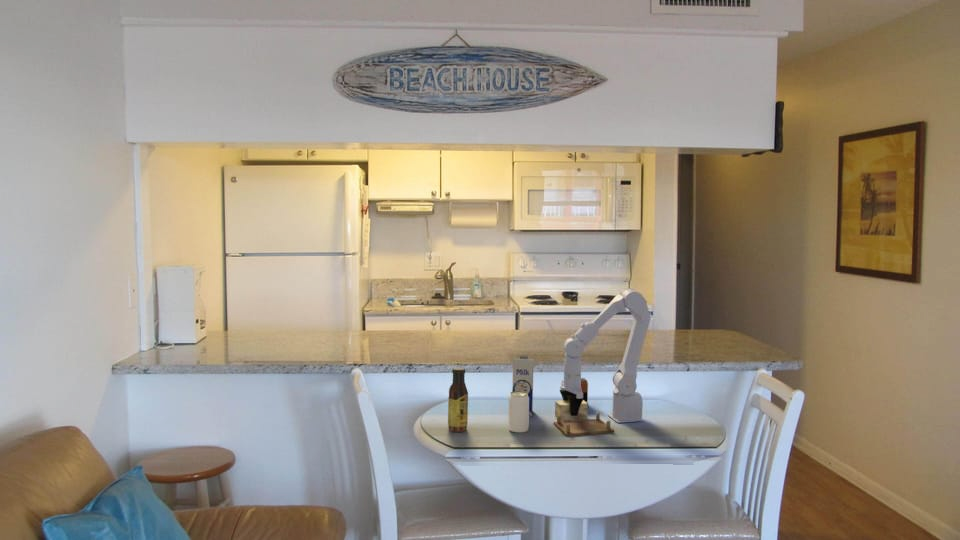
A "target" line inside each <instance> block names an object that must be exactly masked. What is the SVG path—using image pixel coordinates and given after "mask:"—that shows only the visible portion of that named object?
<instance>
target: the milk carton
mask: <svg viewBox="0 0 960 540" xmlns="http://www.w3.org/2000/svg"><path fill="white" fill-rule="evenodd" d="M534 365H535V359H531V358H530V359H529V358H528V356H527V355H526V356H525V355H520V356H519V358H512V389H511V390H512V391H525V392H527V393H528V397H529V416H530V417H531V418H532V417H533V408H534V407H533V401H534V400H533V399H534V397H533V396H534ZM512 391H511V392H512ZM530 417H529V418H530Z"/></svg>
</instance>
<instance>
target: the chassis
mask: <svg viewBox="0 0 960 540" xmlns="http://www.w3.org/2000/svg"><path fill="white" fill-rule="evenodd" d="M600 417H601V415H600V412H598V411H597V412H595V418H589V419H588V418H587V419H578V420H564V421H561V415H557V418H556V421H553V423H552V424H553V426H555V428H557V429H558V430H559V431H560V432H561V433H562V434H563V436H565V437H575V436H586V435H600V434H613V433H612V432H614V433H615V429H614V428H612V427H611V420H606V422H605V421H603V420H602V419H601V418H600Z"/></svg>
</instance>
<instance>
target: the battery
mask: <svg viewBox="0 0 960 540" xmlns="http://www.w3.org/2000/svg"><path fill="white" fill-rule="evenodd" d="M581 389H582V392H583V396H584V401H585V402H587V403H588V396H589V395H588V390H589V383H588V380H587V379H586V378H585V377H581Z"/></svg>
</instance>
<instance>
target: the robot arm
mask: <svg viewBox="0 0 960 540" xmlns="http://www.w3.org/2000/svg"><path fill="white" fill-rule="evenodd" d="M627 310H628V311H629V312H630V314H631V316H632V317H633V323H632V325H631V330H630V333H629V336H628V339H627V343H626V347H625V350H624V353H623V357H622V361H621V363H620V364H619V366H618V367H617V368H618V369H617V370H616V372H615V373H614V374H613V376H612V382H613V385H614V389H613V390H612V413H607V416H608V417H609V418H610V419H611V420H613V421H614V422H616V423H619V424H620V423H621V424H622V423H632V422H633V423H634V422H643V421H644V419H643V402H644V401H643V397H642V394H641V393H639V391H637V387H638V385H637V377H638V373H637V371H638V370H637V368H638V365H639V361H640V356H641V354H642V350H643V346H644V343H645V340H646V336H647V333H648V329H649V325H650V322H651V318H652V317H651V313H650V311H649V310H650V309H649V307H648V302H647V300H646V299H645V297H644V296H643V294H641V293H640V292H638V291H636V290H635V289H633V288H631V287H627V288H624V289H623V290H622V291H620V293H618V294H617V295H615V296H614V297H613V299H612V300H611V301H610V302H609V303H608V304H607V305H606V306H605V307H604V309H603V310H601V311H600V313H599V314H597V316H596V317H595V318H594V319H593V320H592V321H586V322H585V323H584V322H582V323H581V324H580V328H578V330H577V331H576V332H575V333H572V334H571V335H570V337H569V338H567V339H566V340H565V341H564V344H563V350H564V351H565V353H564V361H563V380H561V385H560V387H559V388H560V389H559V392H560V395H561V398H562V401H566V400H569V404H570V413H571V416H577V415H578V412H579V408H580V405H581V403H582V401H583V400H584V396H583V392H582V389H581V378H582V355H583V353H584V348H587V347H588V345H590V343H592V341H594V340H595V339H596V338H597V336H599V334H600V329H601V328H602V327H603V326H604V325H605V324H607V322H609V321H610V320H611V319H612V318H613V317H614V316H615V315H617V314H618V313H625V312H628V311H627Z"/></svg>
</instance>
